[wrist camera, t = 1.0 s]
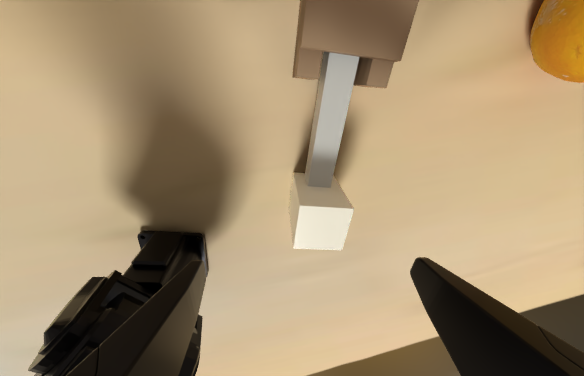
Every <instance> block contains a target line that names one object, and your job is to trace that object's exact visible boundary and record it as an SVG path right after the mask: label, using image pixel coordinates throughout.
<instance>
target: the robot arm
mask: <svg viewBox="0 0 584 376" xmlns="http://www.w3.org/2000/svg"><path fill="white" fill-rule="evenodd" d="M198 237H199V238H201V239H199V238H198ZM138 240H139V244H140V247H141V251H140V252H139V253H138V254H137V256H136V257H135V258H134V260H133V261H132V264H131V266H130V267H129V268H128V269H127V271H126V272H125V273H124V275H121V274H122V273H120V272H118V271H116V270H115V271H114V272H112V273H111V274H110V275H109V276H108V277H92V278H91V279H90V280H89V281H88V282H87V283H86V284H85V285H84V286H83V287H82V288H81V289H80V290H79V291H78V292H77V294H76V295H75V296H74V297H73V298H72V299H71V300H70V301H69V302H68V304H67V305H66V306H65V307H64V308H63V310H62V311H61V312H60V313H59V314H58V316H57V317H56V318H55V319H54V321H53V322H52V323H51V324H50V326H49V327H48V328H47V329H46V331H45V332H44V344H43V346H42V347H41V349H40V350H39V352H38V355H37V356H36V358H35V359H34V361H33V362H32V364H31V365H30V367H29V369H28V371H32V372H35V373H36V374H35V375H34V376H195V374H196V372H197V368H198V365H199V358H200V345H201V331H202V316H200V315H198V313H199V308H200V304H201V299H202V295H203V290H204V286H205V282H206V277H207V274H208V268H207V258H206V248H205V238H204V235H203V234H201V233H183V232H159V231H141V232H140V233H139V234H138ZM410 274H411V278H412V280H413V282H414V285H415V287H416V289H417V291H418V294H419V296H420V298H421V301H422V303H423V305H424V307H425V310H426V312H427V314H428V316H429V318H430V319H431V321H432V323H433V325H434V327H435V329H436V331H437V332H438V334H439V336H440V338H441V340H442V342H443V343H444V345H445V347H446V349H447V351H448V353H449V354H450V356H451V358H452V360H453V362H454V364H455V365H456V367H457V369H458V371H459V373H460V375H461V376H584V352H582V351H580V350H578V349H576V348H575V347H573V346H572V345H570V344H568V343H566V342H565V341H563V340H561V339H560V338H558V337H556V336H555V335H553V334H551V333H550V332H548V331H547V330H545V329H543V328H542V327H540V326H537V325H536V324H535V323H534V322H532V321H530V320H529V319H527V318H525V317H524V316H522V315H520V314H519V313H517V312H515V311H514V310H512V309H511V308H509V307H507V306H506V305H504V304H502V303H501V302H499V301H497V300H496V299H494V298H493V297H491V296H489V295H488V294H486V293H484V292H483V291H481V290H479V289H478V288H476V287H474V286H473V285H471V284H470V283H468V282H466V281H465V280H463V279H461V278H460V277H458V276H456V275H455V274H453V273H452V272H450V271H448V270H447V269H445V268H443V267H442V266H440V265H438V264H437V263H435V262H433V261H432V260H430V259H429V258H425V257H419V258H416V259H415V261H414V264H413V266H412V268H411V271H410Z"/></svg>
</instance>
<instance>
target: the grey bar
mask: <svg viewBox="0 0 584 376" xmlns="http://www.w3.org/2000/svg"><path fill="white" fill-rule="evenodd" d="M358 61H359V57H357V56H350V55H344V54H337V53H330V52H324V54H323V60H322V67H321V73H320V80H319V86H318V93H317V99H316V106H315V112H314V119H313V125H312V132H311V138H310V145H309V151H308V158H307V164H306V170H305V173H296V172H293V178H292V186H291V194H290V202H289V214H290V223H291V232H292V241H293V249H322V250H342V248H343V245H344V242H345V238H346V235H347V231H348V228H349V225H350V221H351V218H352V215H353V211H354V208H353V206H352V204H351V203H350V201H349V200H348V198H347V196H346V195H345V193H344V192H343V190H342V188H341V187H340V185H339V183H338V182H337V180H336V179H335V177H334V175H333V174H334V169H335V165H336V160H337V156H338V151H339V147H340V142H341V138H342V133H343V129H344V124H345V120H346V115H347V111H348V106H349V102H350V97H351V93H352V88H353V84H354V79H355V75H356V70H357V66H358Z"/></svg>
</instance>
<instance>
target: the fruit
mask: <svg viewBox="0 0 584 376" xmlns="http://www.w3.org/2000/svg"><path fill="white" fill-rule="evenodd" d="M530 46H531V51H532V55H533V59H534V61H535V63H536V64H537V65H538V66H539V67H540V68H541V69H542V70H543V71H545V72H547V73H549V74H551V75H553V76H555V77H556V78H560V79H562V80H565V81H570V82H579V83H581V82H584V0H544V1H543V3H542V5H541V7H540V9H539V11H538V14H537V17H536V19H535V21H534V24H533V27H532V30H531V37H530Z"/></svg>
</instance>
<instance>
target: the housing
mask: <svg viewBox="0 0 584 376" xmlns="http://www.w3.org/2000/svg"><path fill="white" fill-rule="evenodd" d="M418 2H419V0H300V8H299V18H298V28H297V38H296V48H295V58H294V67H293V77H295V78H302V79H319V73H320V66H321V60H322V53H323V52H330V53H337V54H344V55H350V56H357V57H359V61H358V66H357V70H356V75H355V79H354V84H353V85H356V86H363V87H376V88H387V84H388V81H389V77H390V74H391V70H392V67H393V63H394V62H397V61H401V58H402V55H403V52H404V48H405V45H406V42H407V38H408V35H409V32H410V28H411V25H412V22H413V18H414V15H415V12H416V8H417V5H418Z"/></svg>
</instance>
